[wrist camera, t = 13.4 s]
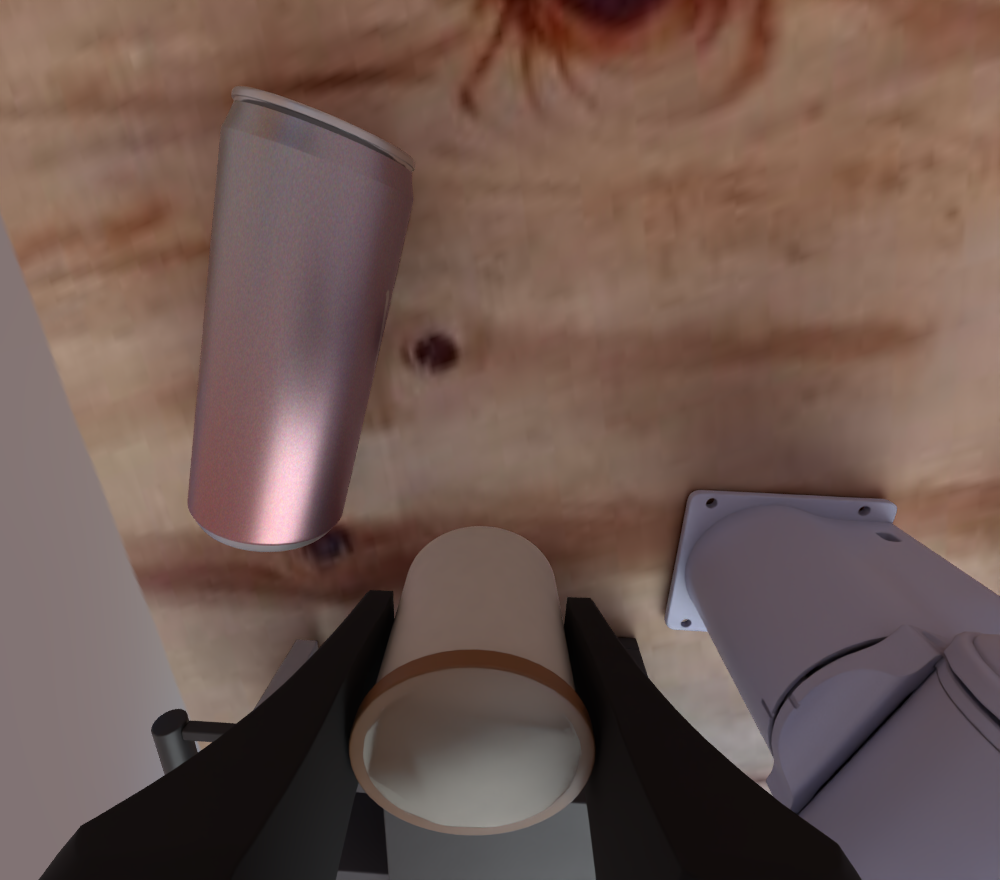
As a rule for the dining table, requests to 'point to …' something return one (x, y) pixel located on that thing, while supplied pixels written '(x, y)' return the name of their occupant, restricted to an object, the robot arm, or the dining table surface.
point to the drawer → (176, 735)
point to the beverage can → (291, 317)
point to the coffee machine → (499, 844)
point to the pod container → (475, 693)
